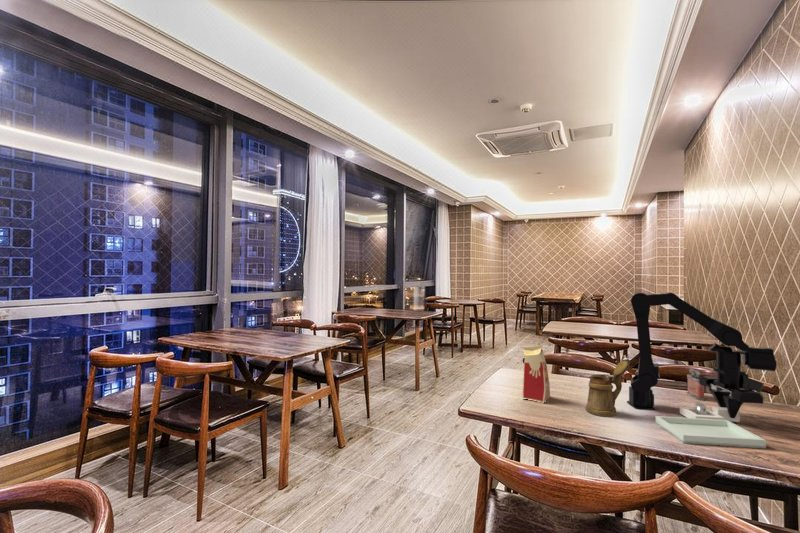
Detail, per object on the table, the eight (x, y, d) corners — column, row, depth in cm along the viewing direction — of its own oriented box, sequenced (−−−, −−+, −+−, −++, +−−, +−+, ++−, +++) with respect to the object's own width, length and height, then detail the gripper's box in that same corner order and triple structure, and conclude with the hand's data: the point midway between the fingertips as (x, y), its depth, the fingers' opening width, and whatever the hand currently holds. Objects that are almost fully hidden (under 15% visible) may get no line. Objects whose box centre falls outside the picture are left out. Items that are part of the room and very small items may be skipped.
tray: (683, 443, 100) (683, 435, 100) (655, 423, 113) (655, 416, 113) (766, 448, 97) (765, 440, 97) (727, 427, 110) (727, 420, 110)
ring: (695, 422, 113) (695, 411, 113) (679, 413, 120) (679, 402, 121) (746, 425, 111) (746, 414, 111) (726, 415, 119) (726, 404, 119)
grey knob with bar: (699, 421, 115) (699, 405, 115) (692, 417, 118) (692, 401, 118) (708, 421, 114) (708, 405, 115) (701, 417, 118) (700, 402, 118)
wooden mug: (636, 419, 116) (636, 362, 117) (591, 416, 118) (590, 360, 119) (623, 408, 125) (623, 356, 125) (581, 406, 127) (581, 354, 127)
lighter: (707, 401, 134) (707, 373, 134) (697, 400, 134) (696, 373, 135) (694, 394, 142) (694, 368, 142) (684, 393, 142) (684, 367, 142)
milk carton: (550, 396, 137) (550, 343, 137) (545, 404, 129) (545, 347, 129) (525, 392, 142) (525, 340, 142) (519, 399, 134) (519, 344, 134)
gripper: (784, 375, 105) (785, 430, 105) (734, 360, 123) (734, 407, 123) (741, 374, 106) (741, 427, 106) (698, 359, 125) (698, 405, 125)
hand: (729, 416), depth 115 cm, fingers closed on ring, 2 cm apart
